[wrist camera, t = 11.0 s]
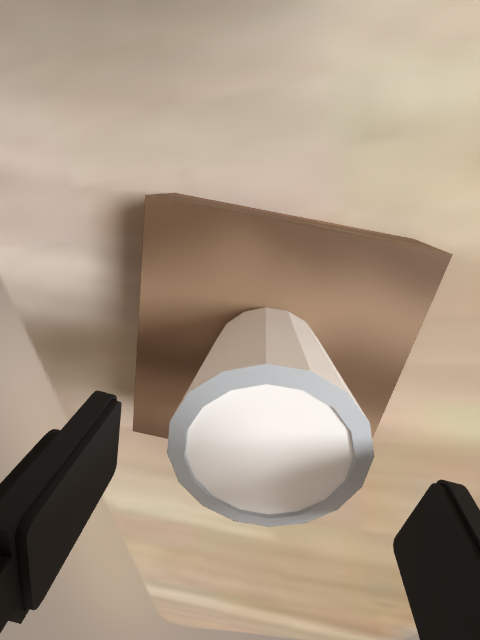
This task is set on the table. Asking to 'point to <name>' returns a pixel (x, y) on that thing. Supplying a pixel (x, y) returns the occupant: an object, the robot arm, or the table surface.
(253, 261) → the walnut block
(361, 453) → the shot glass
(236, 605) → the table surface
